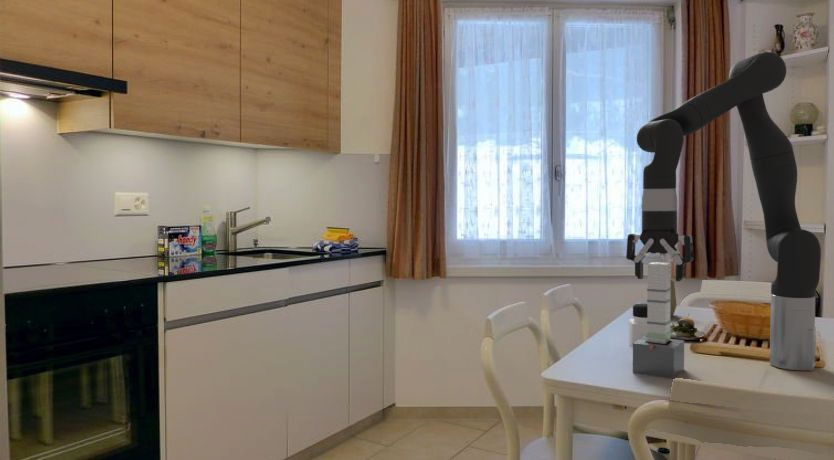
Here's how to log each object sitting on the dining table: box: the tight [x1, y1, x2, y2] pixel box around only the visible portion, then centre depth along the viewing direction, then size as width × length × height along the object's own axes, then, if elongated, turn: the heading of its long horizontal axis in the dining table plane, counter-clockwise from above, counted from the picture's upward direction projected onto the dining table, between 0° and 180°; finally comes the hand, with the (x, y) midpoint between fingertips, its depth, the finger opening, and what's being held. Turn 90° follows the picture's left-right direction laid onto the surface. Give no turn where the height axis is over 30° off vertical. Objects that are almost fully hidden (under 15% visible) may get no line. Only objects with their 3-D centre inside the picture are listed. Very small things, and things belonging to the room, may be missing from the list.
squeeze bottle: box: [670, 279, 678, 317], centre depth 220 cm, size 8×8×18 cm
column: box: [646, 261, 672, 344], centre depth 148 cm, size 4×4×18 cm
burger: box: [670, 314, 707, 341], centre depth 187 cm, size 12×12×8 cm
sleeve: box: [632, 336, 685, 380], centre depth 148 cm, size 16×16×8 cm
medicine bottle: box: [628, 302, 648, 348], centre depth 176 cm, size 7×7×12 cm
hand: (659, 279), depth 147 cm, fingers open, 8 cm apart
